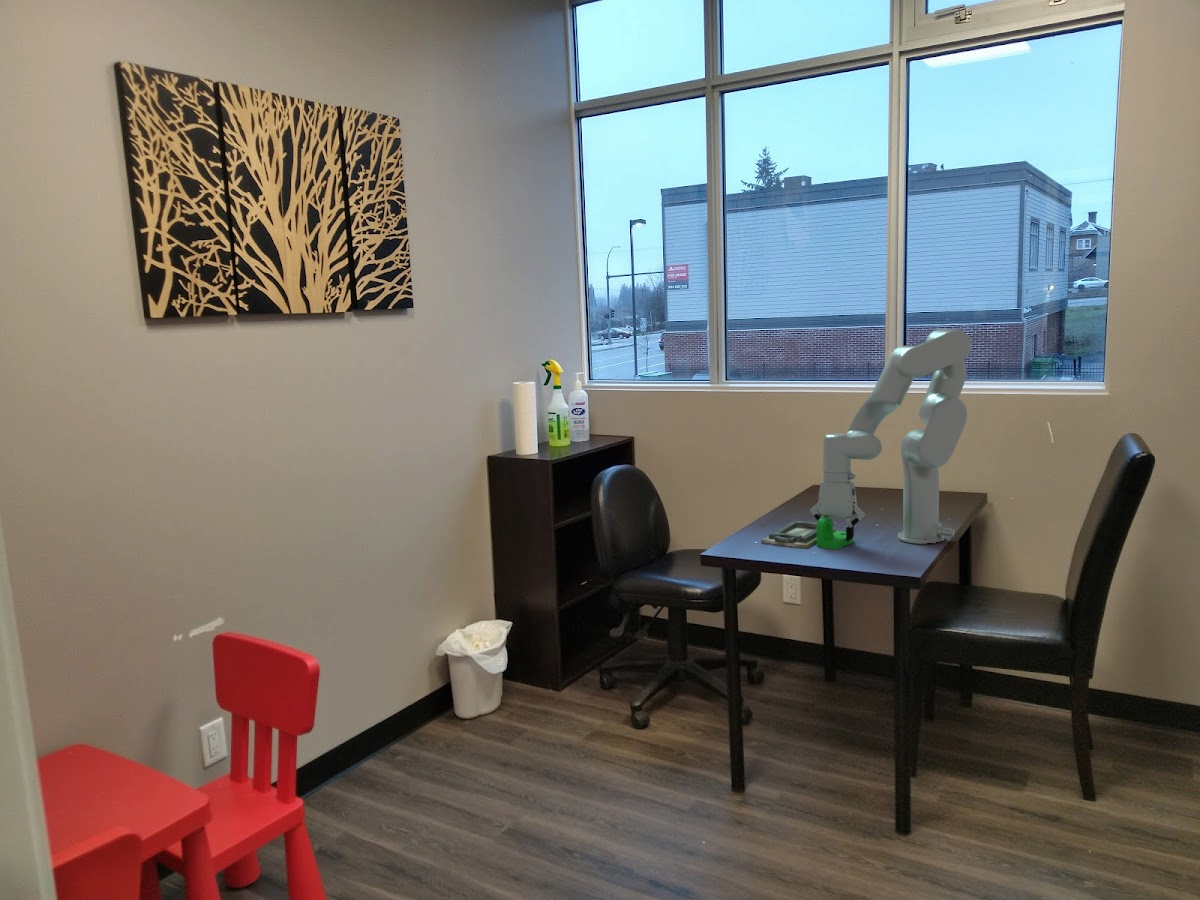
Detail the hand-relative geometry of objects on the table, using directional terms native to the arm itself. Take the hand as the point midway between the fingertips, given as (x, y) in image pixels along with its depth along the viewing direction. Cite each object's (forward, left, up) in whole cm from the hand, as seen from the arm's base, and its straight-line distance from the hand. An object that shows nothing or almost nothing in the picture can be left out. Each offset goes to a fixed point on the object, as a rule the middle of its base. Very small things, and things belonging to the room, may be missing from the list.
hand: (836, 537), depth 247 cm
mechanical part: (0, 0, -2) cm, 2 cm away
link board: (+13, -2, -2) cm, 13 cm away
